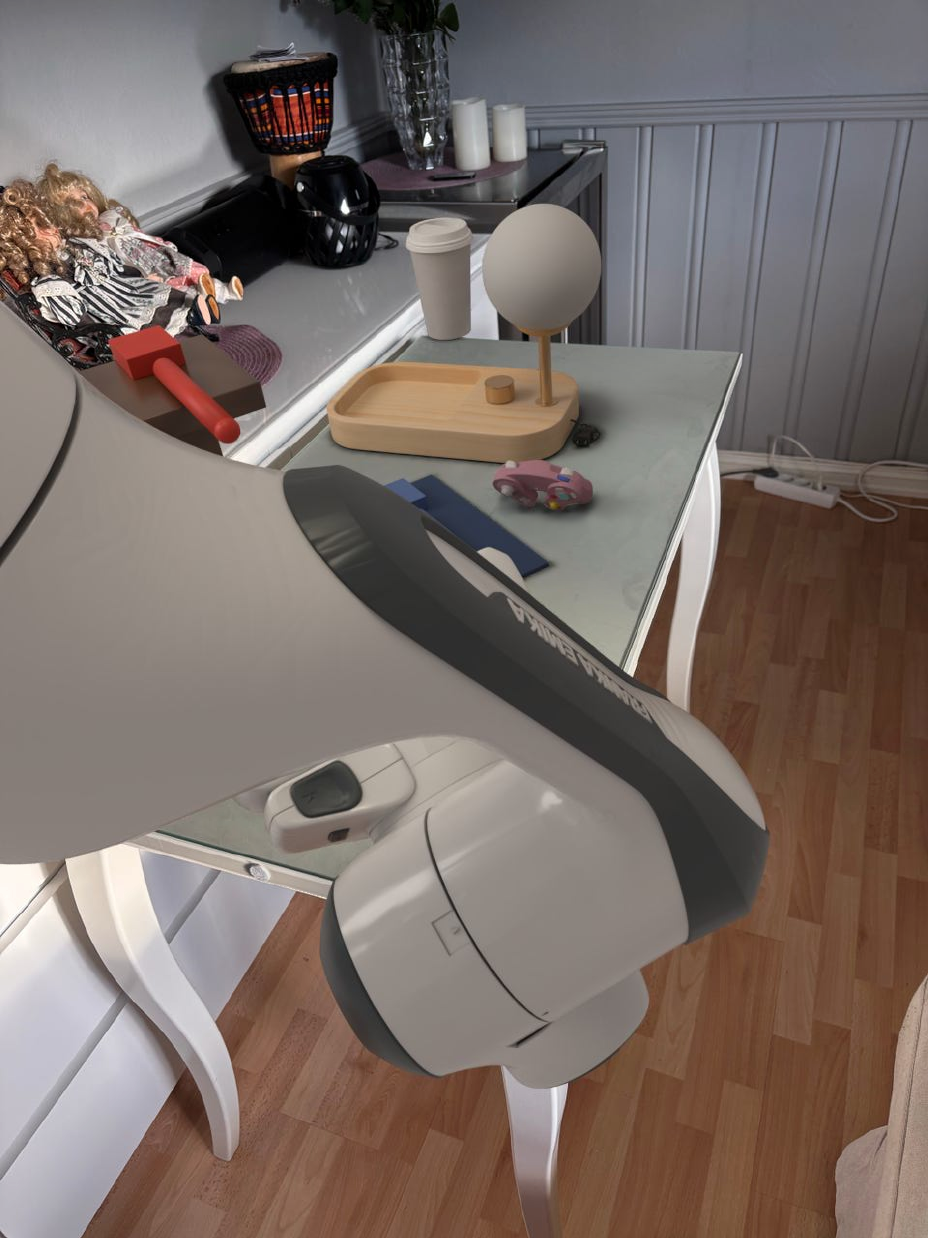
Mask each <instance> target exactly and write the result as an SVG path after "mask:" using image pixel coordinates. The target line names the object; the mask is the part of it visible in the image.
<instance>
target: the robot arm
mask: <svg viewBox="0 0 928 1238" xmlns="http://www.w3.org/2000/svg"><path fill="white" fill-rule="evenodd" d="M230 799H232V800H233V801H234V802H235V803H236V804H237V805H238V806H240V807H241V808H243V809H245V810H247V811H249V812H252V813H255V814H260V815H263V823H264V824H263V825H264V828H265V831H266V834H267V836H268V838H269V840H270V842H271V843H272V846H273V847H274V848H275V849H276V850H278V852H280V853H281V854H285V855H293V854H294V855H295V854H300V853H305V852H308V851H313V850H318V849H322V848H328V847H332V846H337V845H342V844H347V843H352V842H357V841H363V840H368V839H371V841H372V842H373V844H372V845H371V846H369V847H368V848H366V849H365V850H364V851H362V852H361V853H359V855H357V856H356V858H355V859H353V860H352V861H351V862H350V864H348V865H347V867H346V868H345V869H344V870H343V871H341V873H340V874H338V875H336V876H335V877H334V878H333V880H332V883H331V885H330V888H329V889H328V893H327V896H326V899H325V902H324V906H323V910H322V915H321V924H320V929H319V931H320V932H319V950H318V952H319V960H320V964H321V967H322V971H323V974H324V977H325V979H326V982H327V984H328V986H329V989H330V990H331V993H332V995H333V998H334V999H335V1001H336V1004H337V1006H338V1007H339V1010H340V1012H341V1013H342V1015H343V1017H344V1018H345V1020H346V1022H347V1024H348V1025H349V1027H350V1029H351V1030H352V1032H353V1033H354V1035H355V1037H356V1038H357V1039H358V1041H359V1042H360V1043H361V1045H362V1046H363V1047H364V1048H365V1049H366V1050H367V1051H368V1052H370V1053H371V1054H373V1055H374V1056H376V1057H378V1058H379V1059H381V1060H383V1061H384V1062H386V1063H388V1064H390V1065H392V1066H394V1067H396V1068H398V1069H401V1070H403V1071H405V1072H408V1073H411V1074H414V1075H417V1076H421V1077H425V1078H431V1079H443V1078H445V1077H446V1076H447V1075H450V1074H452V1073H457V1072H460V1071H465V1070H469V1069H476V1068H481V1067H488V1066H500V1067H505V1069H506V1070H507V1071H508V1072H509V1073H510V1074H511V1076H512V1077H513V1078H514V1079H515V1080H516V1081H517V1082H518V1083H520V1084H521V1085H522V1086H524V1087H526V1088H530V1089H532V1090H533V1089H534V1090H546V1089H548V1090H549V1089H553V1088H557V1087H560V1086H563V1085H566V1084H570V1083H572V1082H574V1081H576V1080H580V1079H581V1078H583V1077H584V1076H586V1075H589V1074H590V1073H591V1072H594V1071H595V1070H596V1069H597V1068H599V1067H601V1066H602V1065H603V1064H605V1063H606V1062H607V1061H609V1060H610V1059H611V1058H613V1057H614V1056H615V1055H616V1054H617V1053H619V1052H620V1050H621V1048H622V1047H623V1046H624V1045H625V1044H626V1043H627V1042H628V1041H629V1040H630V1039H631V1037H632V1036H634V1034H636V1032H637V1031H638V1029H639V1027H640V1026H641V1024H642V1023H643V1022H642V1021H643V1020H644V1018H645V1017H646V1015H647V1012H648V1009H649V1005H650V993H649V989H648V987H647V984H646V981H645V978H644V976H643V974H642V971H641V969H643V968H645V967H646V966H648V965H650V964H651V963H653V962H654V961H656V960H658V959H660V958H661V957H662V956H664V955H666V954H668V953H669V952H671V951H672V950H675V949H676V948H678V947H680V946H681V945H684V946H687V945H689V944H691V943H693V942H695V941H697V940H699V939H701V938H703V937H705V936H707V935H709V934H712V933H714V932H716V931H718V930H720V929H722V928H724V927H726V926H728V925H730V924H732V923H734V922H736V921H738V920H740V919H742V918H745V917H746V916H748V915H750V913H751V912H752V909H753V906H754V903H755V901H756V898H757V895H758V891H759V889H760V885H761V883H762V879H763V876H764V872H765V868H766V864H767V858H768V852H769V847H770V840H771V839H770V838H771V832H770V830H769V828H768V826H767V823H766V822H765V817H764V813H763V809H762V806H761V803H760V801H759V798H758V796H757V794H756V792H755V790H754V788H753V785H752V784H751V782H750V780H749V779H748V777H747V775H746V773H745V772H744V770H743V769H742V767H741V766H740V764H739V763H738V761H737V760H736V758H735V757H734V756H733V755H732V753H731V752H730V750H729V749H728V748H727V747H726V746H725V745H724V743H723V742H722V741H721V740H720V739H719V738H718V737H717V736H716V735H715V734H714V733H713V731H712V730H710V729H709V727H707V726H706V725H705V724H704V723H703V722H701V721H700V720H699V719H698V718H697V717H695V716H694V715H693V714H691V713H689V712H688V711H687V710H685V709H683V708H682V707H680V706H678V705H677V704H675V703H673V702H672V701H671V700H670V699H669V698H668V697H666V695H664V694H663V693H661V692H660V691H658V690H657V689H655V688H653V687H651V686H649V685H647V684H645V683H644V682H641V681H640V680H638V679H637V678H635V677H633V676H632V675H631V674H629V673H627V672H626V671H625V670H624V669H622V668H621V667H620V666H618V665H617V664H616V663H615V662H613V661H612V660H611V659H610V658H609V657H607V656H606V655H605V654H604V653H602V652H601V650H599V649H598V648H596V647H595V646H594V645H593V644H591V643H590V642H589V641H587V639H585V637H583V636H582V635H580V634H579V633H578V632H577V631H576V630H574V629H573V628H572V627H571V626H569V625H568V624H567V623H566V622H565V621H564V620H562V618H560V617H559V616H557V615H556V614H555V613H553V612H552V611H551V609H549V608H548V607H546V606H545V604H543V603H542V602H540V601H539V600H538V599H537V598H536V597H534V596H533V595H532V594H531V592H530V590H529V588H528V586H527V584H526V581H525V580H524V577H523V578H522V576H521V575H520V573H519V571H518V569H517V568H516V566H515V564H514V563H513V561H512V559H511V558H510V557H509V556H508V555H507V554H505V553H503V552H500V551H498V550H496V549H494V548H491V547H487V548H484V549H481V550H479V551H475V550H474V549H473V548H471V547H470V546H469V545H467V544H466V543H465V542H464V541H462V540H461V539H460V538H458V537H457V536H456V535H455V534H453V533H452V532H451V531H449V530H448V529H447V528H445V527H444V526H443V525H441V524H440V523H439V522H437V521H436V520H434V519H433V518H432V517H430V516H429V515H428V514H426V513H425V512H423V511H422V510H420V509H419V508H418V507H416V506H415V505H413V504H412V503H410V502H409V501H407V500H406V499H404V498H403V497H401V496H400V495H398V494H397V493H395V492H394V491H392V490H390V489H388V488H387V487H385V486H384V485H383V484H381V483H379V482H378V481H376V480H374V479H372V478H371V477H369V476H367V475H365V474H362V473H360V472H359V471H356V470H354V469H351V468H350V467H347V466H345V465H341V464H333V465H322V466H312V467H311V466H310V467H301V468H290V469H289V470H278V469H274V468H268V467H264V466H259V465H255V464H252V463H251V464H250V463H247V462H242V461H239V460H235V459H232V458H229V457H226V456H224V455H223V456H220V455H217V454H214V453H211V452H208V451H205V450H202V449H200V448H197V447H195V446H192V445H190V444H187V443H185V442H183V441H180V440H178V439H176V438H174V437H172V436H170V435H168V434H166V433H164V432H162V431H160V430H158V429H156V428H154V427H152V426H151V425H149V424H147V423H145V422H144V421H142V420H140V419H139V418H137V417H135V416H134V415H132V414H130V413H129V412H127V411H126V410H124V409H123V408H121V407H120V406H119V405H117V404H116V403H114V402H113V401H111V400H110V399H109V398H108V397H106V396H105V395H104V394H102V393H101V392H100V391H99V390H98V389H96V388H95V387H94V386H93V385H92V384H91V383H89V382H88V381H87V380H86V379H85V378H84V377H83V376H82V375H81V374H80V373H79V371H77V369H76V368H75V367H73V366H72V365H71V364H70V363H69V361H67V360H66V359H65V358H64V357H63V356H62V354H60V353H59V352H58V351H57V350H55V349H54V348H53V347H52V345H50V344H49V343H48V342H47V341H46V340H45V339H44V338H42V337H41V335H39V334H38V333H37V332H36V331H35V330H34V329H33V328H31V326H30V325H28V324H27V323H26V322H25V321H24V320H23V319H22V318H21V317H19V316H18V314H17V313H15V312H14V311H13V310H12V309H11V308H10V307H9V306H8V305H7V304H6V303H5V302H3V301H2V300H1V299H0V865H35V864H45V863H50V862H51V863H52V862H57V861H62V860H68V859H72V858H76V857H81V856H84V855H88V854H93V853H96V852H100V851H103V850H106V849H109V848H112V847H115V846H119V845H121V844H125V843H128V842H131V841H133V840H134V841H135V840H136V839H139V838H142V837H144V836H147V835H149V834H152V833H154V832H156V831H158V830H161V829H163V828H166V827H168V826H170V825H173V824H175V823H177V822H179V821H182V820H184V819H186V818H189V817H191V816H193V815H195V814H198V813H200V812H202V811H205V810H207V809H210V808H212V807H214V806H216V805H218V804H221V803H223V802H226V801H228V800H230Z"/></svg>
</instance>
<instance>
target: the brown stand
mask: <svg viewBox="0 0 928 1238" xmlns="http://www.w3.org/2000/svg"><path fill="white" fill-rule="evenodd" d="M177 341H178V342H179V343H180V345H181V348H182V351H183V355H184V358H185V361H186V364H184V365H181V366H178V367H179V368H180V369H181V370H182V371H183V372H184V373H186V374H187V375H188V376H189V377H190V378H191V379H192V380H193V381H194V382H195V383H196V384H197V385H198V386H199V387H200V388H201V389H202V390H204V391H205V392H206V393H207V394H208V395H209V396H210V397H211V398H212V399H213V400H214V401H215V402H216V403H217V404H218V405H219V406H221V407H222V408H223V409H224V410H225V411H226V412H227V413H228V414H229V415H230V416H231V417H232V418H233V419H234V420H235V419H238V418H240V417H243V416H245V415H249V414H252V413H255V412H257V411H261V410H264V409H266V408H267V403H266V399H265V396H264V392H263V391H264V390H263V389H262V383H261V381H260V380H259V379H257V378H256V377H255V376H254V375H252V373H250V372H249V371H248V370H246V369H245V368H244V367H242V366H241V364H240V363H238V362H236V361H235V360H234V359H233V358H232V357H230V356H229V355H228V354H227V353H225V352H224V351H223V350H222V349H221V348H219V347H218V346H217V345H216V344H214V342H212V341H211V340H209V338H207V337H206V336H205V335H204V334H198V335H195V336H191V337H188V338H184V339H182V340H177ZM78 372H79V373H80V374H81V375H82V376H83V377H84V378H85V379H86V380H87V381H88V382H89V383H91V384H92V385H93V386H94V387H95V388H96V389H98V390H99V391H100V392H101V393H102V394H104V395H105V396H106V397H108V398H109V399H110V400H111V401H113V402H114V403H116V404H117V405H119V406H120V407H121V408H123V409H124V410H126V411H127V412H129V413H130V414H132V415H134V416H135V417H137V418H139V419H140V420H142V421H144V422H145V423H147V424H149V425H151V426H152V427H154V428H156V429H158V430H160V431H162V432H164V433H166V434H168V435H170V436H172V437H174V438H176V439H178V440H180V441H183V442H185V443H187V444H190V445H192V446H195V447H197V448H200V449H202V450H205V451H208V452H211V453H214V454H217V455H220V456H223V457H224V453H223V451H222V447H221V444H220V443H221V442H220V441H219V440H218V439H217V438H216V437H215V436H214V435H213V434H212V433H211V432H210V431H209V430H208V429H207V428H206V427H205V426H204V425H203V424H202V423H201V422H200V421H199V420H198V419H197V418H196V417H195V416H194V415H193V414H192V413H191V412H190V411H189V410H188V409H187V408H186V407H185V406H184V405H183V404H182V403H181V402H180V401H179V400H178V399H177V398H176V397H175V396H174V395H173V393H172V392H171V391H170V390H169V389H168V388H167V387H166V386H165V385H164V384H163V383H162V382H161V381H160V380H159V379H158V378H157V377H156V376H155V374H153V375H149V376H146V377H143V378H140V379H137V380H133V379H132V378H131V377H130V376H129V375H128V374H127V372H126V371H125V370H124V369H123V368H122V367H121V366H120V365H119V364H118V363H117V362H116V361H115V360H112V361H109V362H106V363H103V364H99V365H95V366H93V367H89V368H86V369H83V370H79V371H78Z"/></svg>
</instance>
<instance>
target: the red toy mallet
mask: <svg viewBox="0 0 928 1238" xmlns="http://www.w3.org/2000/svg"><path fill="white" fill-rule="evenodd" d="M178 341H179V340H177V338H175V337H174V336H173V335H171V334H170V333H169V332H168V331H166V330H165V328H163V326H161V325H160V324H158V325H154V326H150V327H147V328H144V329H143V328H142V329H140V330H138V331H133V332H129V333H127V334H123V335H120V336H117V337H112V338H110V339H108V340H107V343H108V345H109V347H110V350H111V353H112V356H113V358H114V361H116V362H117V363H118V364H119V365H120V366H121V367H122V368H123V369H124V370H125V371H126V372H127V374H128V375H129V376H130V377H131V378H132V379H133V380H137V379H140V378H143V377H146V376H149V375H153V374H155V376H156V377H157V378H158V379H159V380H160V381H161V382H162V383H163V384H164V385H165V386H166V387H167V388H168V389H169V390H170V391H171V392H172V393H173V395H174V396H175V397H176V398H177V399H178V400H179V401H180V402H181V403H182V404H183V405H184V406H185V407H186V408H187V409H188V410H189V411H190V412H191V413H192V414H193V415H194V416H195V417H196V418H197V419H198V420H199V421H200V422H201V423H202V424H203V425H204V426H205V427H206V428H207V429H208V430H209V431H210V432H211V433H212V434H213V435H214V436H215V437H216V438H217V439H218V440H219V443H222V444H227V445H230V444H233V443H235V442H237V441H238V440H239V438H240V436H241V426H240V424H239V422H237V420H236V419H235V418H234V419H233V418H232V417H231V416H230V415H229V414H228V413H227V412H226V411H225V410H224V409H223V408H222V407H221V406H219V405H218V404H217V403H216V402H215V401H214V400H213V399H212V398H211V397H210V396H209V395H208V394H207V393H206V392H205V391H204V390H202V389H201V388H200V387H199V386H198V385H197V384H196V383H195V382H194V381H193V380H192V379H191V378H190V377H189V376H188V375H187V374H186V373H184V372H183V371H182V370H181V369H180V368H179V367H178V366H181V365H184V364H186V361H185V358H184V355H183V351H182V348H181V345H180V343H179V342H178Z"/></svg>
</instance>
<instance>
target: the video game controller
mask: <svg viewBox="0 0 928 1238" xmlns="http://www.w3.org/2000/svg"><path fill="white" fill-rule="evenodd" d="M492 486H493V488H494V490H495V491H497V492H498V493H500V494H502V495H503V496H505V497H508V498H512V499H513V500H514V501H515V502H517V503H518V504H519V505H521V506H523V507H534V506H535V505H536V503H537V500H538V497H539V493H538V492H542V493H545V495H544V499H543V505H544V506H545V507H546V508H548V509H550V510H553V511H557V512H558V511H563V510H564V509H566V507H567V506H569V505H575V504H577V505H585V504H587V503H589V502H590V501H592V498H593V495H594V487H593V483H592V482H591V481H590V479H587V478H585V477H584V476H583V475H582V474H581V473H580V472H578V471H576V470H573V468H571V467H561V466H559V465H557V464H552V463H551V462H549V461H547V460H544V459H541V460H530V461H523V462H518V463H515V462H514V461H507V462H506V463H503V464H502V465H501V466H500V467H499V468H498V470H497V471H496V473H495V474H494V477H493V480H492Z"/></svg>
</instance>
